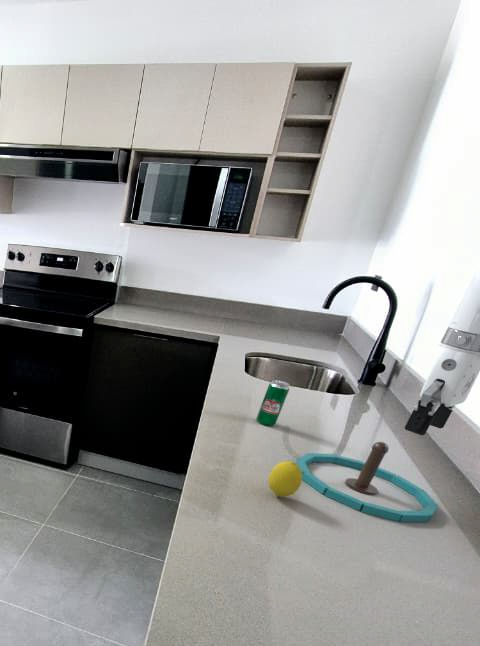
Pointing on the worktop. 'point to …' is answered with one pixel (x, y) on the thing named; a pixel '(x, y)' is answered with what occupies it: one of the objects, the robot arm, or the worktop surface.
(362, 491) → the ring toss
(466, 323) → the robot arm
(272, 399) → the soda can
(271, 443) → the worktop surface
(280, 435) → the worktop surface
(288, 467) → the lemon
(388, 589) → the worktop surface
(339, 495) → the ring
